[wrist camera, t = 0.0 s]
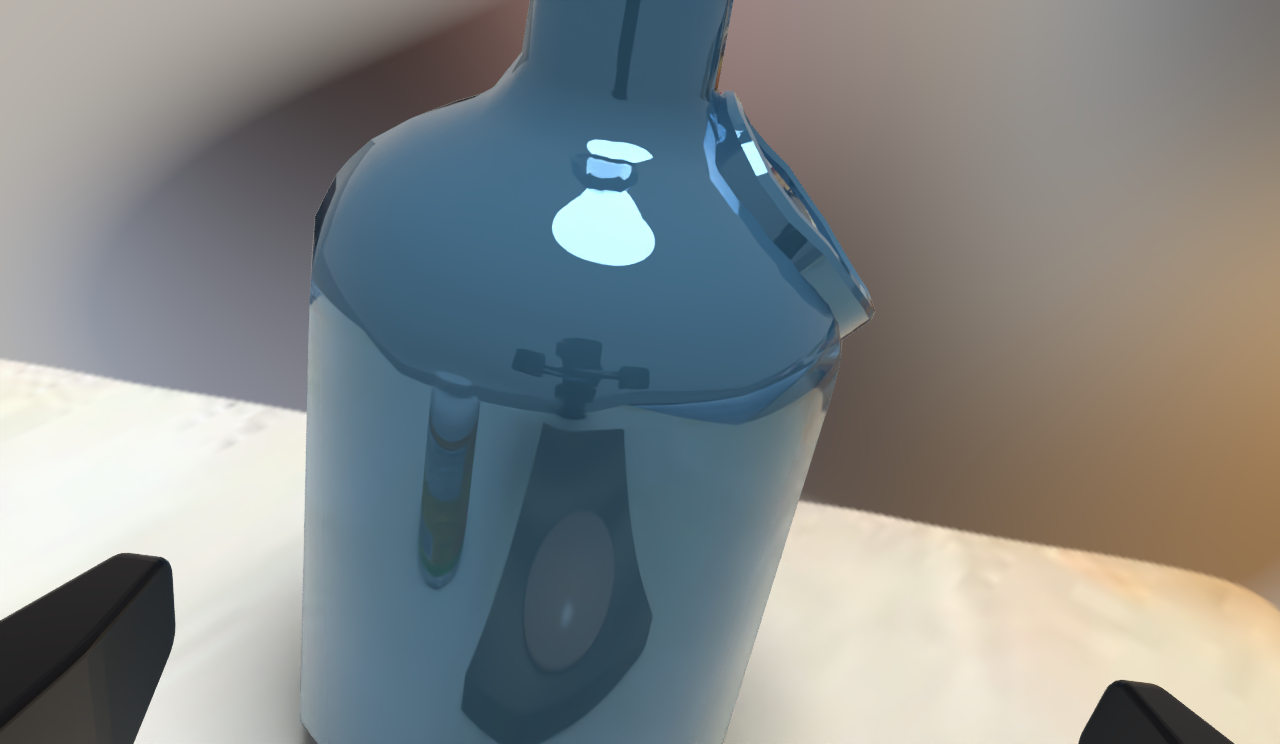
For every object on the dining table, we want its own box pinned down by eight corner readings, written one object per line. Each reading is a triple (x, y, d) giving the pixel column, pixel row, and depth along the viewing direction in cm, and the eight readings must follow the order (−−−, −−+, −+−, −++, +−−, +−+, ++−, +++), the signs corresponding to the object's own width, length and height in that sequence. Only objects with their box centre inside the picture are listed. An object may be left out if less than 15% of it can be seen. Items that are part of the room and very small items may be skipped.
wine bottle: (221, 858, 24) (157, -1009, 10) (357, 529, 35) (415, -533, 22) (762, 916, 25) (1377, -675, 11) (720, 579, 37) (994, -397, 23)
